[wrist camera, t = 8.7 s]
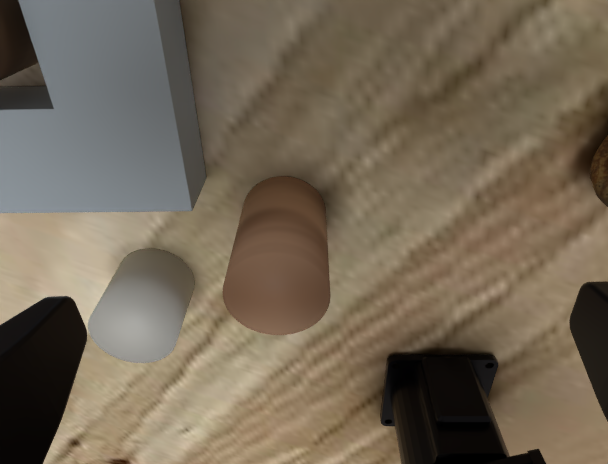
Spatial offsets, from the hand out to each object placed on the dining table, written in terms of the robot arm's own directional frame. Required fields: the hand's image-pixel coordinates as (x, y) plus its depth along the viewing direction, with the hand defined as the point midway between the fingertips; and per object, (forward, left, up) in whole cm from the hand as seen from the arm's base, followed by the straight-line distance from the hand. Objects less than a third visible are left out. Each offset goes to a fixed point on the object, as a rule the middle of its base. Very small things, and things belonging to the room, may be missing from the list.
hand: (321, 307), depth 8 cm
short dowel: (-10, +9, -13) cm, 18 cm away
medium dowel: (-6, +2, -13) cm, 14 cm away
